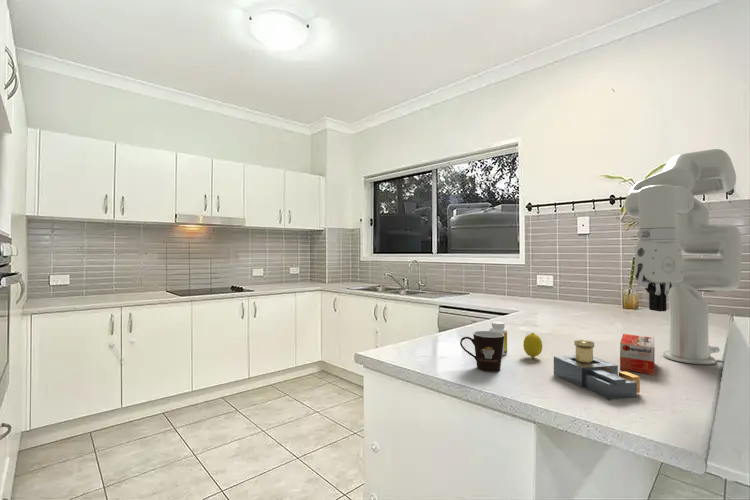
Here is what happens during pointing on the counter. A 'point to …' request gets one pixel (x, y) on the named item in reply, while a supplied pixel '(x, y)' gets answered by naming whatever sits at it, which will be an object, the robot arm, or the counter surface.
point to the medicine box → (637, 354)
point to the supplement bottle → (501, 329)
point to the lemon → (532, 345)
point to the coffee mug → (487, 350)
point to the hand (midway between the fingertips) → (657, 310)
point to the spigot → (584, 351)
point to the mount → (595, 377)
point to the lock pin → (630, 378)
